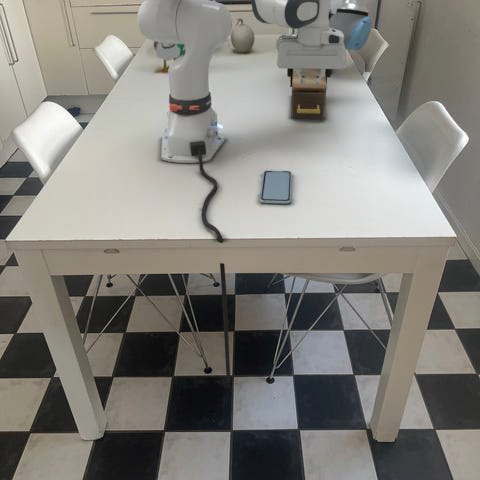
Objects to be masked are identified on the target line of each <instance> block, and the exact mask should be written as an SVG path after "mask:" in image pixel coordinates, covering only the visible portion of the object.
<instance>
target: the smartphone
mask: <svg viewBox="0 0 480 480" xmlns="http://www.w3.org/2000/svg"><path fill="white" fill-rule="evenodd" d="M292 175H293V173H292V171H290V170H267V169H266V170H264V171H263V174H262V182H261V190H260V197H259V199H260V200H259V201H260V203H263V204H283V205H284V204H285V205H286V204H290V203H291V198H292V180H293V179H292Z"/></svg>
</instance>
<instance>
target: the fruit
mask: <svg viewBox="0 0 480 480" xmlns="http://www.w3.org/2000/svg"><path fill="white" fill-rule="evenodd" d="M236 21H237V23H236V24H235V26H234V27H232V29H231V33H230V41H231V45H232V47H233V49H234V50H236V51H237V52H239V53H246V52H248V51H251V49H252V48H253V47H254V44H255V33H254V30H253V28H252V27H251V26H249V24H245V23H244V20H243V19H242V18H238V19H236ZM240 22H241V23H240ZM239 23H240V24H239Z"/></svg>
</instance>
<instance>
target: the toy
mask: <svg viewBox="0 0 480 480" xmlns="http://www.w3.org/2000/svg"><path fill="white" fill-rule="evenodd" d="M153 47H154V50H155V51H154V52H155V54H156V58H158V59H161V60H163V68H161V69H158V70H156V72H159V73H165V72H166V73H167V72H168V70H169V66H167V61H171V60H173V61H174V60H175V59H177V58H179V57H181V56H183V55H185V45H184V44H174V43H160V42H157V41H153Z"/></svg>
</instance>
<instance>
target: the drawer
mask: <svg viewBox="0 0 480 480" xmlns="http://www.w3.org/2000/svg"><path fill="white" fill-rule="evenodd" d="M324 98H325V92H322V91H305V90H296V92H294V96H293V118H292V119H300V118H315V119H314V120H324V119H323V111H324Z"/></svg>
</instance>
